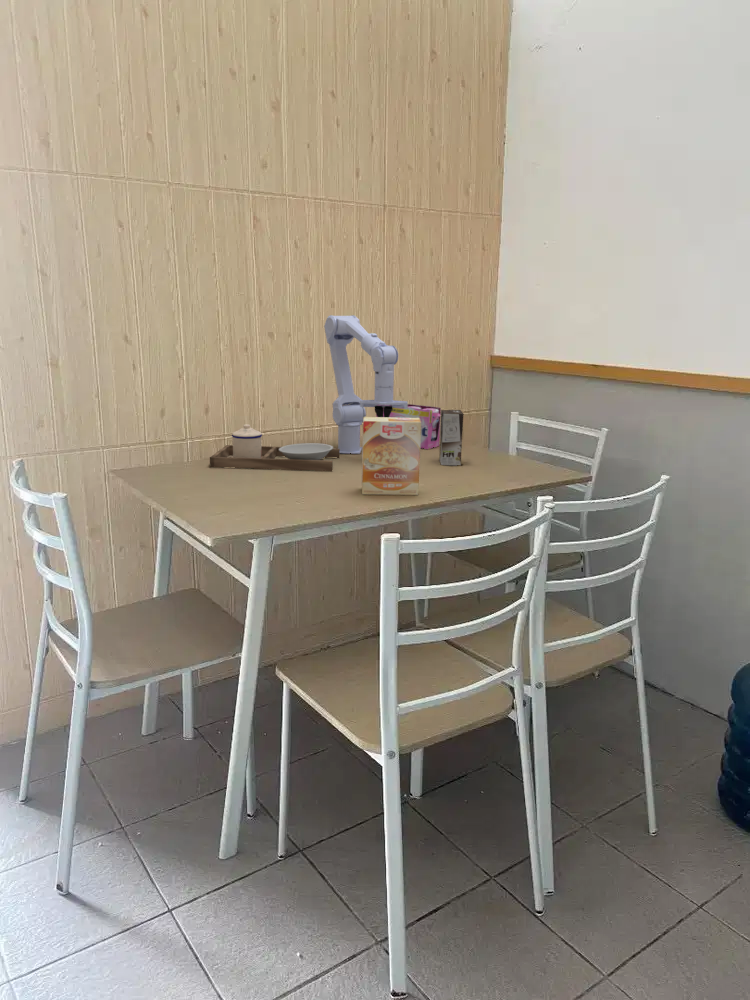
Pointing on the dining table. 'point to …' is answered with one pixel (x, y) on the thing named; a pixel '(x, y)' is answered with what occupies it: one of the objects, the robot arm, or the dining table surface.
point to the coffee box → (451, 437)
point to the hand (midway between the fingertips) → (383, 430)
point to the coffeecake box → (391, 455)
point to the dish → (306, 451)
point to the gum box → (422, 422)
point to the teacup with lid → (247, 443)
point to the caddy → (271, 460)
